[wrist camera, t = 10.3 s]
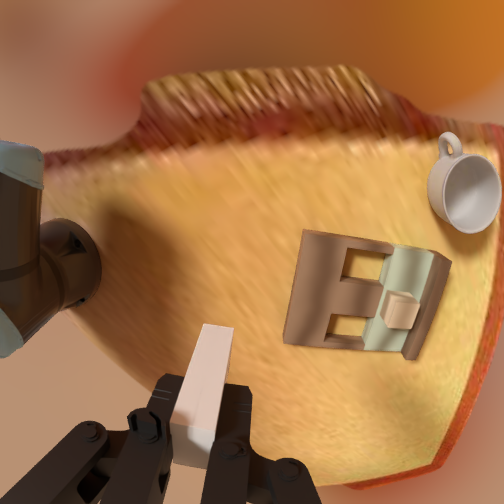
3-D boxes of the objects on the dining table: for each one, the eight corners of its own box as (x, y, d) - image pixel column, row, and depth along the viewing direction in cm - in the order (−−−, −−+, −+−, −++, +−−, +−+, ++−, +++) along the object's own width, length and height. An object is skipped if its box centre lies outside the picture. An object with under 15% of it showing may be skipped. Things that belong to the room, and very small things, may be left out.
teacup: (475, 211, 40) (505, 222, 32) (424, 230, 41) (451, 245, 33) (459, 126, 36) (489, 124, 28) (404, 139, 37) (431, 137, 30)
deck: (282, 334, 47) (283, 353, 42) (303, 229, 42) (307, 238, 37) (405, 343, 47) (415, 360, 42) (436, 251, 42) (452, 261, 37)
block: (379, 314, 43) (387, 327, 39) (386, 289, 41) (396, 302, 38) (401, 315, 43) (411, 329, 39) (409, 292, 41) (420, 304, 38)
